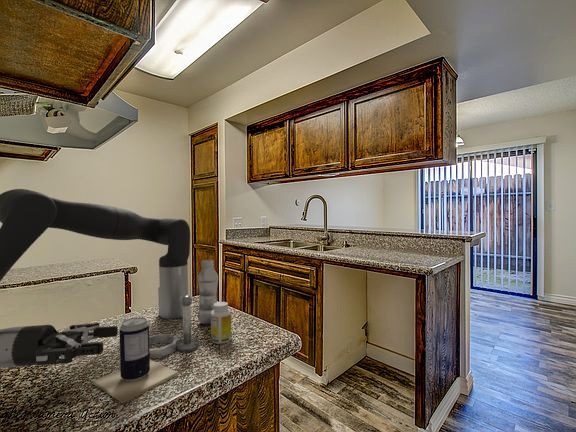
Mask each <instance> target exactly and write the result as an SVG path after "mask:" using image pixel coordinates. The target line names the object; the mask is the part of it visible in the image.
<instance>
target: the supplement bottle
mask: <svg viewBox="0 0 576 432" xmlns="http://www.w3.org/2000/svg"><path fill="white" fill-rule="evenodd" d="M232 335H233V334H232V311H231V309H230V308H229V303H228V302H226V301H217V303H215V304H214V305H213V311H212V312H211V324H210V341H211V342H212V343H214V344H216V345H221V344H227V343H228V342H230V341H231V340H232Z"/></svg>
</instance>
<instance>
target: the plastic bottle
mask: <svg viewBox="0 0 576 432" xmlns="http://www.w3.org/2000/svg"><path fill="white" fill-rule="evenodd" d="M214 263H215V261H214V260H213V259H204V260H201V268H202V269H201V270H200V272H199V273H198V276H197V285H198V291H199V305H198V311H197V319H198V322H199V323H200V324H202V325H211V312H212V311H213V305H214V304H215V303H217V302H218V299H217V296H218V295H217V294H218V284H219V275H218V272H217V271H216V270H215V269H214V268H215V267H214V266H215V264H214Z"/></svg>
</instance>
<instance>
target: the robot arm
mask: <svg viewBox="0 0 576 432" xmlns="http://www.w3.org/2000/svg"><path fill="white" fill-rule="evenodd" d="M0 223H1V226H0V282H1V281H2V280H3V279H4V278H5V276H6V275H7V274H8V273H9V272H10V270H11V268H12V267H13V266H14V265H15V264H16V263H17V262H18V261H19V259H20V258H21V257H22V256H23V255H24V254H25V253H26V251H28V249H29V248H30V247H31V246H32V245H33V244H34V243H36V241H37V240H38V239H39V238H40V237H41V236H42V234H44V233H45V232H46V231H47V230H48V229H59V230H65V231H69V232H72V233H76V234H78V235H79V234H80V235H84V236H87V237H93V238H99V239H104V240H113V241H114V240H115V241H133V240H142V241H147V242H151V243H155V244H159V245H163V246H167V251H166V253H165V254H164V255H163V256H161V257H159V259H158V274H159V277H158V279H159V281H158V282H159V286H158V289H157V291H158V292H157V297H158V298H157V299H158V315H159V317H160V318H161V319H166V320H172V319H173V320H174V319H179V318H183V305H182V304H181V299H182V298H183V297H184V296H189V272H188V270H189V267H188V263H189V262H188V260H189V257H190V251H191V230H190V226H189V223H188V222H187V221H186V220H185V219H183V218H153V217H152V218H151V217H145V216H142V215H139V214H137V213H136V212H134V211H131V210H128V209H125V208H121V207H115V206H110V205H104V204H97V203H90V202H89V203H88V202H87V203H85V202H77V201H76V202H75V201H67V200H63V199H58V198H55V197H50V196H48V195H46V194H45V193H41V192H38V191H34V190H30V189H25V188H15V189H10V190H7V191H6V190H5V191H3V192H2V193H0ZM118 335H119V327H118V326H117V325H108V326H100V323H99V322H96V323H94V322H93V323H82V324H71V325H69V328H68V329H65V330H62V331H60V332H59V331H57V330H56V328H55V326H53V325H52V324H41V325H39V324H37V325H26V326H12V327H7V328H1V329H0V369H7V368H8V369H9V368H16V367H19V368H20V367H26V366H27V367H28V366H46V365H49V366H50V365H60V364H70V363H72V362H73V359H79V358H81V357H83V356H93V355H101V354H102V353H103V352H104V343H103V342H102V341H93V342H92V341H91V340H96V339H98V338H99V339H102V338H103V339H104V338H115V337H117V336H118ZM89 341H91V342H89Z"/></svg>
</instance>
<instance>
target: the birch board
mask: <svg viewBox="0 0 576 432" xmlns="http://www.w3.org/2000/svg"><path fill="white" fill-rule="evenodd" d="M176 376H178V371H176V370H173V369H172V368H169V367H167V366H165V365H163V364H161V363H158V362H156V361H154V360H152V359H150V371H149V372H148V373H147V374H146V376H145V377H144V378H142V379H140V380H138V381H133V382H128V381H126V380H125V379H123V378H121V373H120V369H118V370H115V371H113V372H111V373H109V374H107V375H104V376H102V377H99V378H96V379H95V380H93V381H92V384H93V385H94V386H95V387H97V388H98V389H100V390H101V391H103V392H105V393H107V394H108V395H109V396H111V397H113V398H114V399H116V400H117V401H119V402H120V403H121V404H124V405H125V404H126V403H127V402H129V401H131V400H134V399H135V398H136V397H138V396H140V395H142V394H144V393H146V392H147V391H150V390H151V389H154V388H156V387H157V386H159V385H161V384H163V383H165V382H166V381H168V380H170V379H173V378H174V377H176Z"/></svg>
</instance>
